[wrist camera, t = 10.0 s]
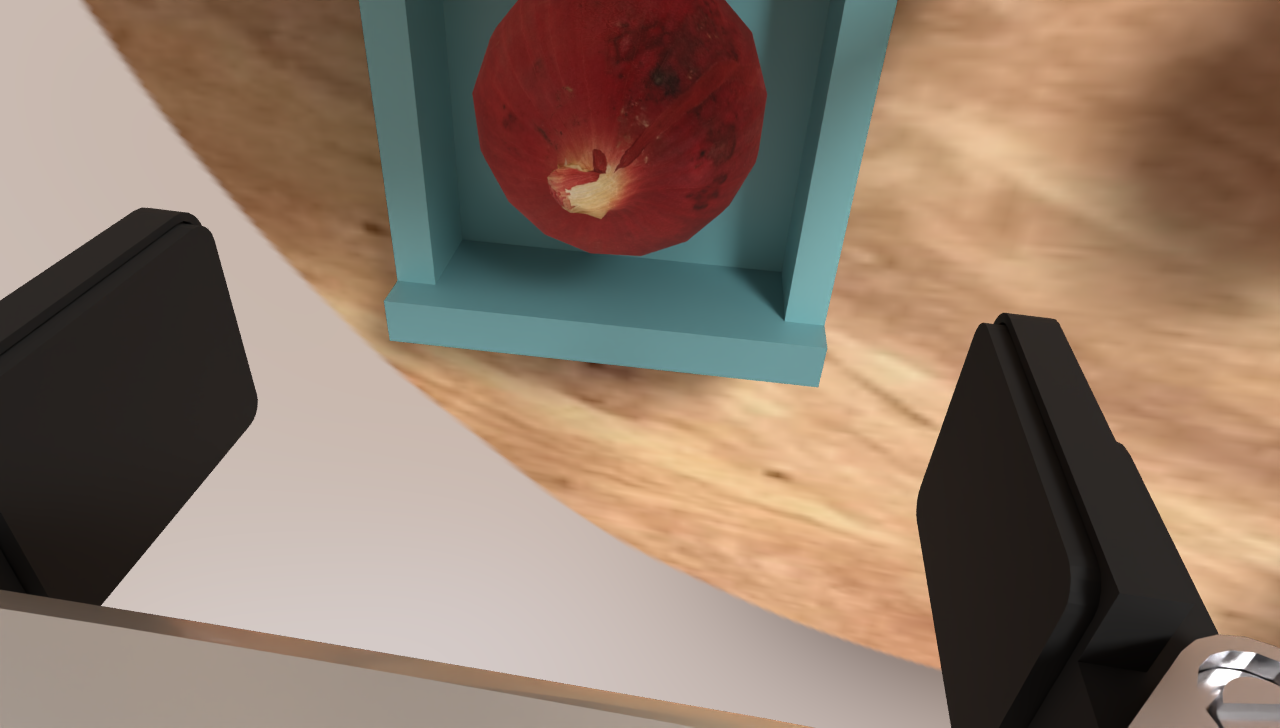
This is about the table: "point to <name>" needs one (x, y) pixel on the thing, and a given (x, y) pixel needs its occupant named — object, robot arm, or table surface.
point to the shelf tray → (622, 284)
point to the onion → (620, 117)
